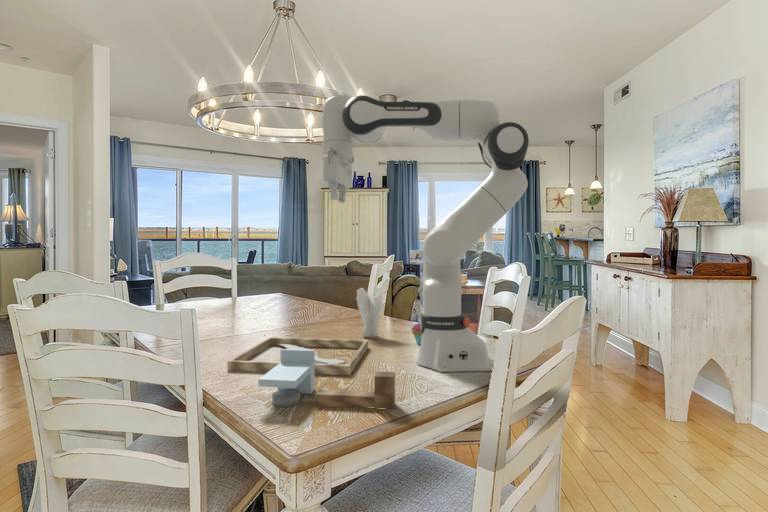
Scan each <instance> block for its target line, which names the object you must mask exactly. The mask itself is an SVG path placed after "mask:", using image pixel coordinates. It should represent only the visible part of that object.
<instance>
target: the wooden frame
mask: <svg viewBox="0 0 768 512" xmlns="http://www.w3.org/2000/svg"><path fill="white" fill-rule="evenodd" d="M279 344H289V345H295V346H298V347H303V348H309V347H313V348H340V349H341V348H343V349H357V351H355V353H354V354H353V356H351V358H350V360H349V361H348V362H347V364H345V365H343V364H316V363H314V364H315V375H336V376H337V375H338V376H351V374H352V372H353V371H354V369H355V368H356V366H357V365H358V363H359V362H361V361H360V360H361V359H362V358H363V356H364V355H365V353H366V352H367V350H368V348H369V340H367V339H364V340H363V339H343V338H341V339H339V338H338V339H336V338H335V339H333V338H331V339H330V338H309V337H306V338H301V337H273V336H272V337H271V336H270V337H267V338H266V339H264V340H263V341H261V342H259V343H257V344H255V345H254V346H252V347H250V348H248V349H247V350H244V351H243V352H241V353H239V354H238V355H236V356H234V357H232V358H230V359H229V360H227V361H226V363H227V371H232V370H236V372H257V373H259V372H260V373H262V372H263V373H265V372H266V373H267V372H269V371H270V370H271V369H273V368H274V367H275V366H277V365H278V364H279V363H281V361H258V360H250V359H252V358H253V357H255V356H257V355H258V354H260V353H261V352H263V351H265V350H266V349H268V348H269V347H271V346H274V347H275V346H276V347H277V346H278V347H279V346H281V345H279ZM281 347H282V346H281Z"/></svg>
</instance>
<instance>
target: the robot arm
mask: <svg viewBox="0 0 768 512" xmlns="http://www.w3.org/2000/svg"><path fill="white" fill-rule="evenodd" d="M323 104H324V105H323V108H322V119H321V120H322V121H321V125H322V133H323V137H322V142H321V143H322V160H323V170H322V171H323V172H322V174H323V175H322V176H323V180H324V182H326V183H328V189H329V192H330V200H332V201H337V200H338V203H342V204H343V203H345V202H346V195H347V189H351V186H352V180H353V177H352V176H353V164H355V157H354V151H353V150H354V147H353V146H354V141H356V142H360V143H361V142H363V143H369V144H370V143H375V142H377V141H379V140H380V139H381V138H382V137H383V135H384V134H385V133H384V132H385V131H386V128H387V127H388V128H389V127H392V128H394V127H395V128H397V127H399V128H401V127H403V128H404V127H407V128H408V127H410V128H416V129H419V130H421V131H424V132H425V133H426V134H428V135H429V136H431V137H432V138H434V139H436V140H441V141H476V142H477V144H478V148H479V151H480V155H481V157H482V160H483V162H484V164H485V165H486V166H487V167H489V168H490V169H491V170H490V173H489V174H488V176H487V177H485V179H484V180H483V181H482V182H481V183H480V184H479V185H478V186H476V188H475V189H473V190H472V191H471V193H469V194H468V195H467V196H466V197H465V198H464V199H463V200H462V201H461V202H460V203H459V204H458V205H457V206H456V207H455V208H454V209H453V210H451V211H450V212H449V213H448V214H447V215H446V216H445V217H444V218H443V219H442V220H441V221H440V222H439V223H437V225H435V227H433V228H432V229H431V230H430V231H429V232H428V233H427V234H426V236H424V237H423V241H422V244H421V245H422V247H421V249H422V250H421V251H422V254H423V258H422V259H423V265H422V312H421V322H420V323H421V333H422V337H421V345H420V344H419V350H418V356H417V359H416V363H417V364H418V365H420V366H421V367H422V366H423V367H424V368H429V369H432V370H434V371H437V372H440V373H441V372H442V373H444V372H445V373H447V372H451V373H452V372H453V373H454V372H491V371H493V370H492V368H493V362H494V360H495V358H493V357H492V356H490V355H489V350H488V347H487V344H486V342H485V341H484V339H482V338H481V337H480V336H479V335H478V334H476V333H475V332H474V331H472V330H471V329H470V328H469V326H470V325H471V319H470V318H468V317H467V316H466V315H464V314H462V279H461V277H462V276H461V275H462V273H461V271H462V270H461V265H462V264H461V262H462V261H461V258H462V257H463V256H464V255H465V254H466V253H468V251H470V249H472V247H473V246H474V245H475V244H476V243H477V242H478V241H479V240H480V239H481V238H482V237H483V236H484V235H485V234H486V233H487V232H488V231H489V230H490V229H491V228H493V226H494V225H496V223H497V222H499V221H500V220H501V219H502V218H504V216H505V215H506V214H507V213H509V211H510V210H511V209H512V208H513V207H515V205H516V204H517V203H518V201H519V200H520V199H521V198H522V196H523V195H524V193H526V191H527V189H528V185H529V184H528V179H527V177H526V175H525V173H524V172H523V170H521V168H520V167H522V166H523V165H524V162H525V158H526V155H527V153H528V152H527V151H528V149H529V143H530V141H529V134H528V132H527V130H526V129H525V127H523V125H521V124H519V123H517V122H512V121H509V122H508V121H507V122H503V123H501V121H500V114H499V109H498V107H497V106H496V104H494V103H493V102H491V101H488V100H481V99H470V98H469V99H465V98H462V99H447V100H437V101H383V100H377V99H375V98H373V97H370V96H367V95H356V96H353V97H351V98H350V97H349V96H348V95H344V94H338V95H333V96H330V97H329V98H327V99H326V100H325V102H324V103H323Z"/></svg>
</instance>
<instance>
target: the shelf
mask: <svg viewBox="0 0 768 512" xmlns="http://www.w3.org/2000/svg"><path fill="white" fill-rule="evenodd" d="M314 351H315V349H310V350H301V349H287V348H281V349H280V362H281V363H279V364H278V365H277V366H275V367H274V368H273V369H271V370H270V371H269V372H266V373H265V374H263V375H262V376H261V377H260V378H258V387H260V388H261V387H263V388H265V387H267V388H277V391H279V390H284V389H294V390H298V391H299V392H300V394H310V395H311V394H312V393H313V392H314V391H315V389H316V387H315V375H316V374H315V364H314Z"/></svg>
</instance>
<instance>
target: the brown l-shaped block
mask: <svg viewBox="0 0 768 512" xmlns="http://www.w3.org/2000/svg"><path fill="white" fill-rule="evenodd" d="M373 377H374V380H373V381H374V384H373V385H374V388H373V389H374V391H359V390H358V391H357V390H339V389H335V390H334V389H318V390H317V391H316V393H314V406H316V407H319V406H320V407H337V408H354V407H374V408H386V409H393V408H395V405H396V372H395V371H376V372H375V374H374V376H373ZM374 408H373V409H374ZM393 410H394V409H393Z"/></svg>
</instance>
